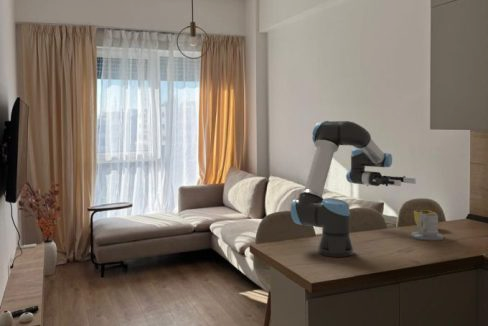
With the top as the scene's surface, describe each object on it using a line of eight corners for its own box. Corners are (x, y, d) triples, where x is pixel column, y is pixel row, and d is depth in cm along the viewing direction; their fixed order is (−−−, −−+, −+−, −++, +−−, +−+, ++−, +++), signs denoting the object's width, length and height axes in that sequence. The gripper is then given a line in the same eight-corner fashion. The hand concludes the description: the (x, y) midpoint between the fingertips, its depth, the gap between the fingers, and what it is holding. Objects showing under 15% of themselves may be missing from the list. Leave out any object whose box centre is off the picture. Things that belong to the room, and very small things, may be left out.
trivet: (415, 240, 222) (415, 238, 222) (407, 233, 237) (407, 231, 237) (447, 241, 221) (448, 238, 221) (437, 233, 236) (437, 231, 236)
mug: (442, 235, 227) (442, 211, 226) (423, 237, 223) (423, 213, 222) (430, 231, 235) (431, 208, 233) (412, 234, 230) (412, 210, 229)
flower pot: (412, 226, 251) (413, 210, 251) (428, 226, 252) (428, 210, 252) (420, 230, 243) (421, 213, 242) (436, 230, 244) (436, 213, 243)
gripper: (385, 183, 258) (420, 187, 241) (358, 187, 242) (393, 191, 226) (385, 170, 257) (421, 173, 241) (358, 173, 241) (394, 176, 225)
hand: (408, 182), depth 233 cm, fingers open, 13 cm apart
